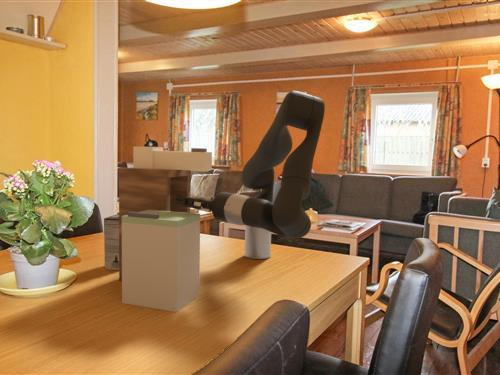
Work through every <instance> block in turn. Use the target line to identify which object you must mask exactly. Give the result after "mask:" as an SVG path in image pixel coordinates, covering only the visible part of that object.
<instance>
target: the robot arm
mask: <svg viewBox="0 0 500 375" xmlns="http://www.w3.org/2000/svg"><path fill="white" fill-rule="evenodd" d="M325 111H326V104H325V101H324V100H323V99H322V98H321V97H318V96H314V95H312V94H308V93H306V92H302V91H298V90H291V91H289V92H287V94H286V95H285V96H284V98H283V100H282V102H281V103H280V107H279V108H278V111H277V113H276V115H275V117H274V119H273V122H272V124H271V125H270V126H269V128H268V130H267V131H266V133H265V134H264V136H263V137H262V140H260V143H259V144H258V146H257V148H256V150H255V152H254V153H253V155H251V157H249V160H248V161H247V162H246V163H245V164H244V166H243V169H242V171H241V177H240V178H241V183H242V185H243V187H245V188H246V189H250V190H260V192H259V193H258V194H257V195H255V196H253V197H252V196H247V195H245V194H241V193H234V192H233V193H232V192H227V191H226V192H225V191H221V192H219V193H217V194H216V196H214V197H213V196H199V195H196V196H195V197H193V196H191V197H190V196H188V197H186V196H180V195H177V196H176V204H181V205H182V206H183V207H190V209H194V210H197V211H198V210H199V211H202V212H203V211H204V212H206V213H212V216H213V218H214V219H215V220H216V221H219V222H223V223H226V224H227V223H228V224H233V225H238V226H245V228H244V257H245V258H248V259H253V260H263V259H269V258H270V257H271V253H272V252H271V251H272V250H271V247H272V234H274V235H278V236H280V237H284V238H286V239H290V240H291V239H292V240H294V239H295V240H297V239H302V238H303V237H305V236H307V235H308V234H309V233H310V230H311V228H312V221H311V220H312V219H311V218H310V216H309V215H308V214H307V212H306V211H305V210H304V208H303V206H302V201H304V200H305V199H307V198H308V196H309V194H310V190H311V181H312V174H313V173H312V172H313V166H314V165H313V164H314V159H315V154H316V151H317V146H318V143H319V140H320V139H319V138H320V135H321V130H322V126H323V122H324V117H325ZM288 126H289V127H292V128H296V129H299V130H303V131H306V134H305V138H304V139H303V140H302V142H301V143H300V144H299V145H298V146H297V147H296V148H295V149H294V150H292V149H293V138H292V135H291V132H290V130H289V128H288ZM282 163H284V164H283V168H282V173H281V179H280V181H281V182H280V188H279V189H278V192H277V195H276V197H275V199H274V185H275V169H274V168H276V167H277V166H279V165H281V164H282ZM273 200H274V201H273Z"/></svg>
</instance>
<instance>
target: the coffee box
mask: <svg viewBox="0 0 500 375" xmlns="http://www.w3.org/2000/svg"><path fill="white" fill-rule="evenodd" d="M103 237H104V238H103V240H104V242H103V246H104V248H103V250H104V269H105V270H112V271H113V270H114V271H119V213H117V214H114V215H111V216H107V217H104V218H103Z"/></svg>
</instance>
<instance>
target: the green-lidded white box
mask: <svg viewBox="0 0 500 375" xmlns="http://www.w3.org/2000/svg"><path fill="white" fill-rule="evenodd" d="M200 245H201V213H194V212H190V213H185V212H173V211H160V210H145V211H141V212H128V215H124V216H122V281H121V304H126V305H132V306H133V305H134V306H138V307H142V308H143V307H144V308H150V309H157V310H163V311H168V312H174V313H178V311H180V310H182V309H183V308H184V307H185V306H187V305H188V304H190V303H192V301H194V300H196V299H197V298H198V297H199V296H200V269H201V268H200V266H201V265H200V262H201V261H200V259H201V258H200V257H201V256H200V254H201V246H200Z"/></svg>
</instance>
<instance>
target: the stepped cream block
mask: <svg viewBox="0 0 500 375" xmlns="http://www.w3.org/2000/svg"><path fill="white" fill-rule="evenodd" d="M132 152H133V160H132V161H133V164H132V165H133V166H132V167H133V168H146V169H173V170H191V171H200V172H209V171H212V169H213V162H212V161H213V160H212V159H213V152H211V151H210V152H209V151H208V149H207V148H197V147H196V148H194V147H191V149H190V151H185V150H184V151H182V150H180V151H179V150H178V151H177V150H176V151H175V150H164V147H161V146H133V150H132Z"/></svg>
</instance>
